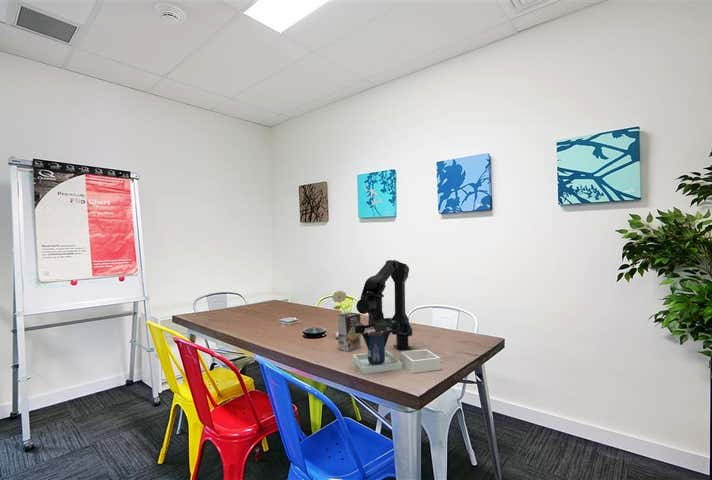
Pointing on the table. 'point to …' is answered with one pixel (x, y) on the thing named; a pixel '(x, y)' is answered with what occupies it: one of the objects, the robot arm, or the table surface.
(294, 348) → the table surface
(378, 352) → the soda can
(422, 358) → the pale square open box
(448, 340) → the table surface
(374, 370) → the tray
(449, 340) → the table surface
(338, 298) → the flower in vase
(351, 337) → the coffee box
